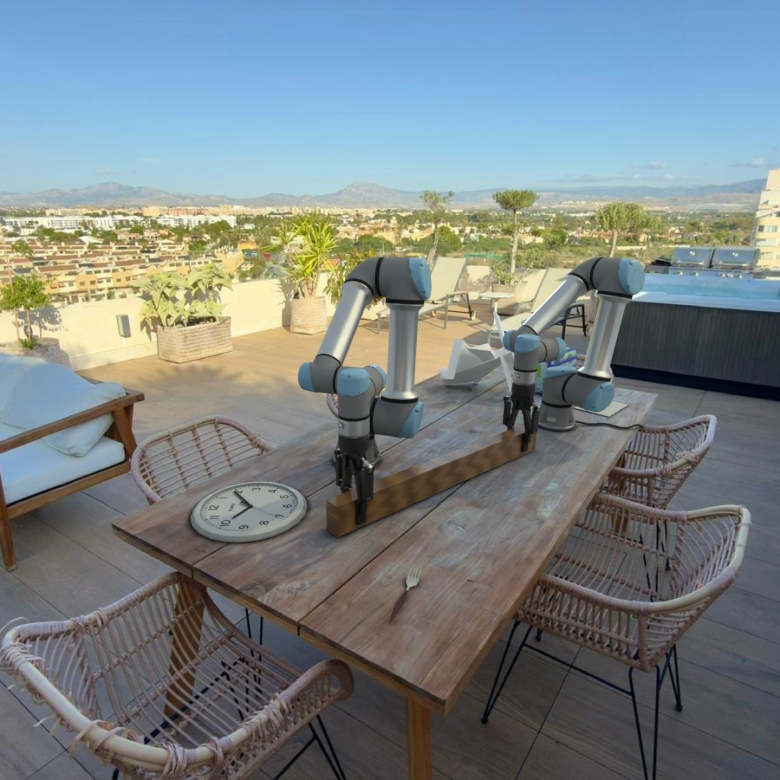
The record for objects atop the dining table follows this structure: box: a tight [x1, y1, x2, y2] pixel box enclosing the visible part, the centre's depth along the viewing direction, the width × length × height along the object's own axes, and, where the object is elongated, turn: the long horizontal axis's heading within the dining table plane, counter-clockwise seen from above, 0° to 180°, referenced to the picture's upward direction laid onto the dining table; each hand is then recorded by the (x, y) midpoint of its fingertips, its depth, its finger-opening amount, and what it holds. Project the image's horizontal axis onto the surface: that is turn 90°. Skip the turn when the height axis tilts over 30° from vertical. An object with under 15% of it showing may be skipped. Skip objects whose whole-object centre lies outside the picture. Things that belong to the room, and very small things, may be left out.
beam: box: [325, 423, 538, 538], centre depth 154 cm, size 83×5×8 cm, turn 131°
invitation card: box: [573, 400, 629, 418], centre depth 226 cm, size 21×1×15 cm
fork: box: [391, 565, 422, 620], centre depth 108 cm, size 3×16×2 cm, turn 160°
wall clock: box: [190, 481, 308, 544], centre depth 139 cm, size 30×2×30 cm
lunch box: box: [535, 346, 578, 394], centre depth 244 cm, size 26×11×21 cm, turn 135°
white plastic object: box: [438, 310, 514, 395], centre depth 245 cm, size 37×45×31 cm
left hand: (354, 518), depth 133 cm, fingers open, 5 cm apart
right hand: (517, 448), depth 176 cm, fingers open, 5 cm apart
